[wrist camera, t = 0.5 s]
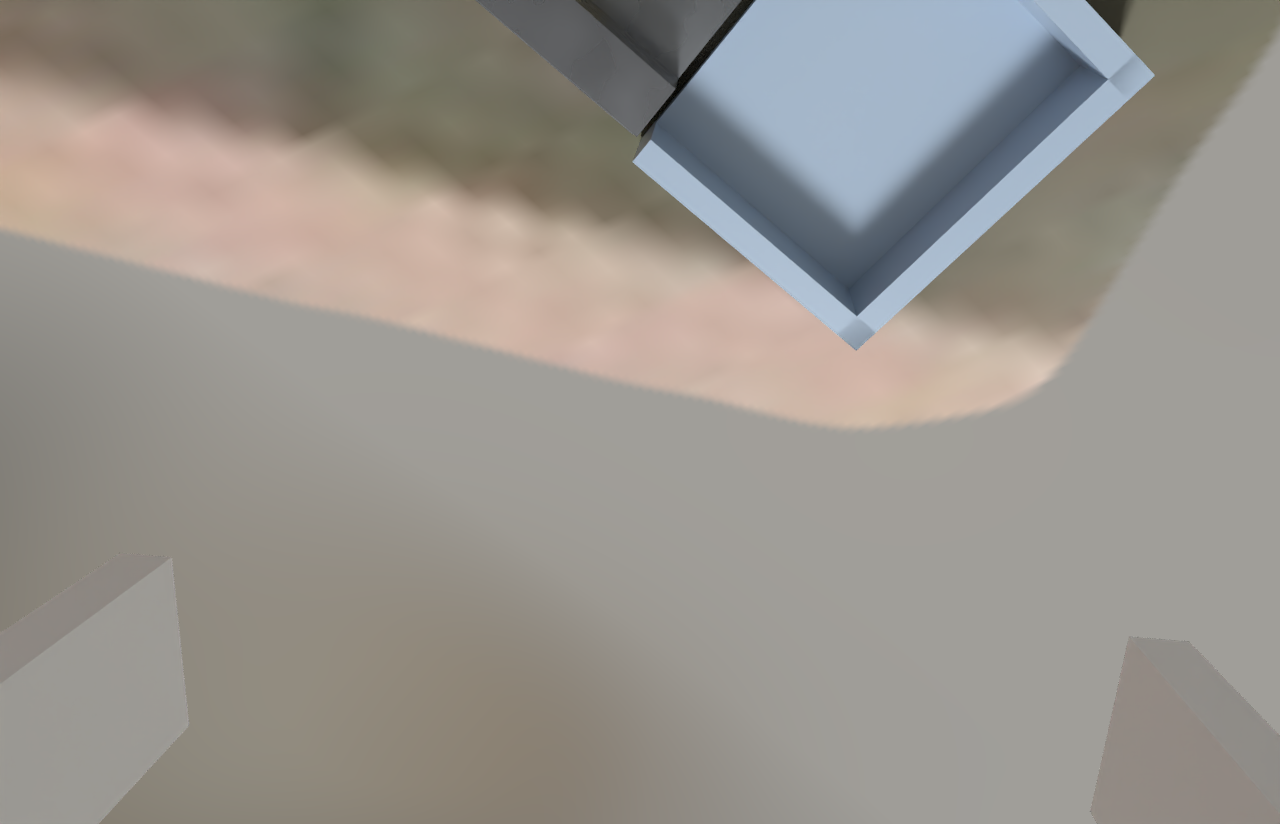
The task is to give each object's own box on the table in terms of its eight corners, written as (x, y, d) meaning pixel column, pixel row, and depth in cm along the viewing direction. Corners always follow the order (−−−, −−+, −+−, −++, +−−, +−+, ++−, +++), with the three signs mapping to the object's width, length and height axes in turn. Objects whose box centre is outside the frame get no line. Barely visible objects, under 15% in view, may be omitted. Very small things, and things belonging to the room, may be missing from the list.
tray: (896, -176, 29) (915, -184, 26) (1114, 58, 32) (1155, 75, 29) (641, 138, 35) (632, 161, 32) (846, 313, 38) (856, 350, 35)
